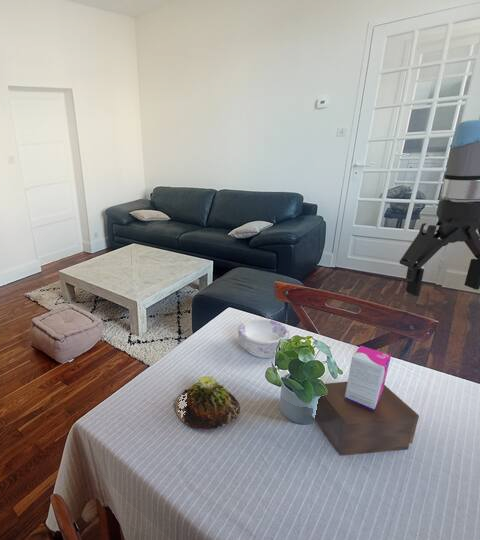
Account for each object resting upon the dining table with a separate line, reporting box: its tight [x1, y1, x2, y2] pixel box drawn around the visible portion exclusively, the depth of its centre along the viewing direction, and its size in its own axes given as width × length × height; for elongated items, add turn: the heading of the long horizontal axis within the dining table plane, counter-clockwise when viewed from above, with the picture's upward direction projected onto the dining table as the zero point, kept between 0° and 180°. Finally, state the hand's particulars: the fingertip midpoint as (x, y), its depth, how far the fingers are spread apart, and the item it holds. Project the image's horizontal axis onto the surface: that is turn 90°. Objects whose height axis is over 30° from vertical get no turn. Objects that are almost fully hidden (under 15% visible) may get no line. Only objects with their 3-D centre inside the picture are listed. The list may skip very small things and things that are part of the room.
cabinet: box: [314, 380, 416, 456], centre depth 77 cm, size 15×12×10 cm
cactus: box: [174, 375, 241, 430], centre depth 89 cm, size 17×16×10 cm
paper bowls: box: [238, 318, 290, 359], centre depth 110 cm, size 15×15×8 cm
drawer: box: [384, 384, 420, 445], centre depth 77 cm, size 15×10×8 cm
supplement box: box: [344, 345, 392, 411], centre depth 73 cm, size 6×6×12 cm
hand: (441, 290), depth 78 cm, fingers open, 13 cm apart
